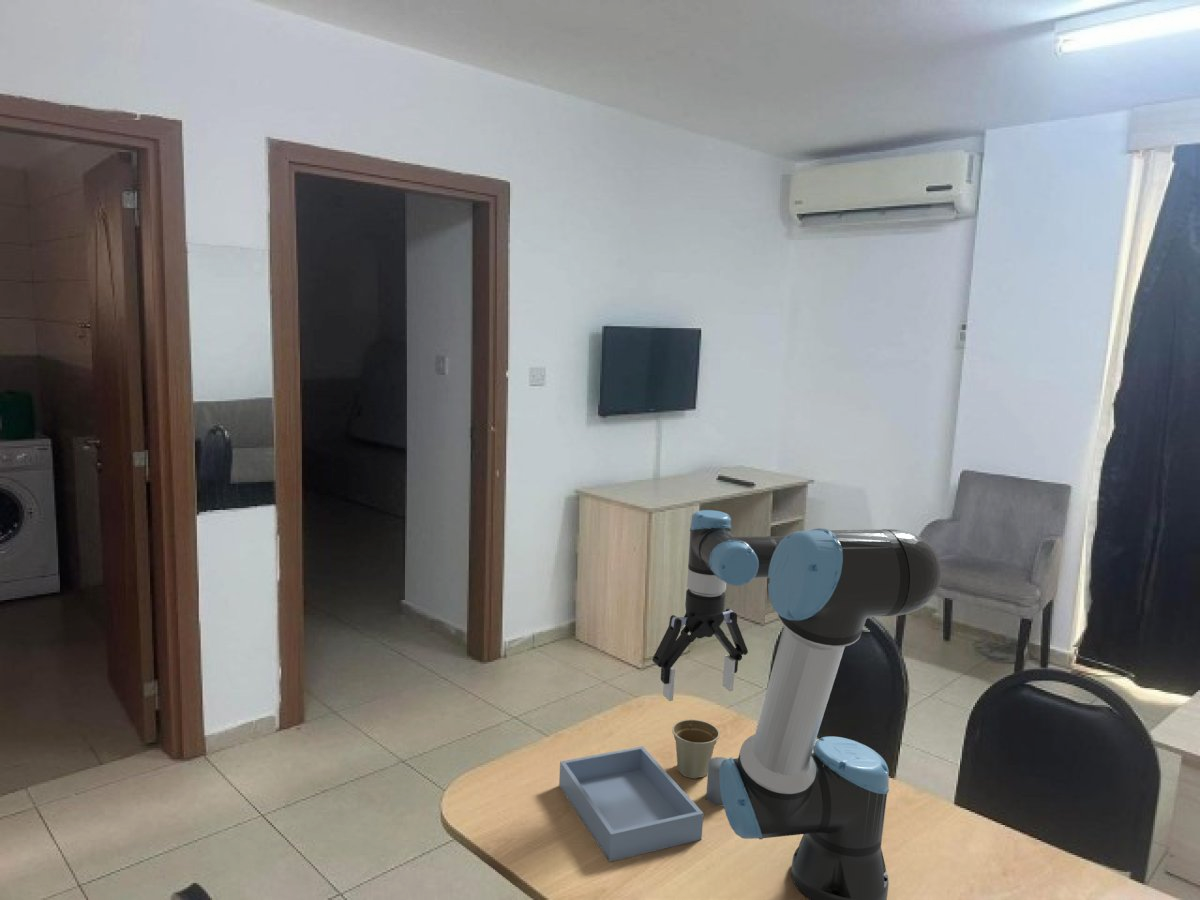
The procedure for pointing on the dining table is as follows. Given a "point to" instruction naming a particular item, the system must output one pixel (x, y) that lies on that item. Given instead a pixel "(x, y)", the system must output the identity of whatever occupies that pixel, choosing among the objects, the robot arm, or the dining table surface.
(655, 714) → the dining table surface
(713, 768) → the canister
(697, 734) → the flower pot
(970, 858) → the dining table surface
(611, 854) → the tote
